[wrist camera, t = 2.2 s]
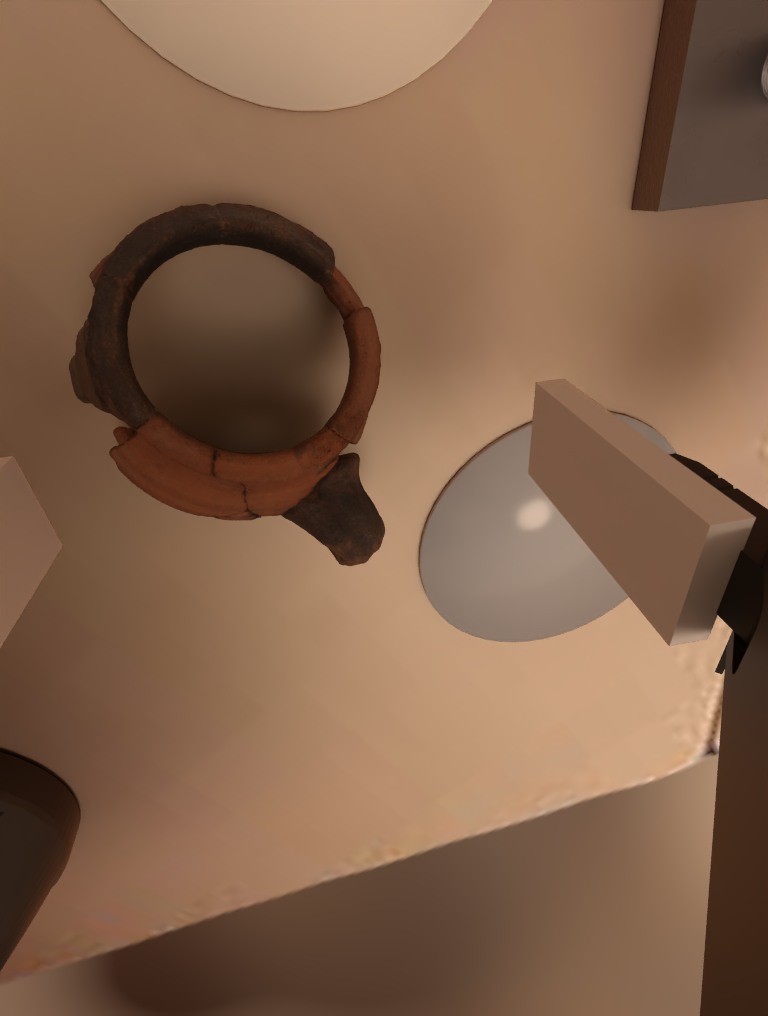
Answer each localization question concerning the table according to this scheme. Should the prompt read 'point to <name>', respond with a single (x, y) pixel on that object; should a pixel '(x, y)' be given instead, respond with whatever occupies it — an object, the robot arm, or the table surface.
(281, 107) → the cream plate
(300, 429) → the table surface
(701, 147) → the balance
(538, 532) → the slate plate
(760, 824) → the robot arm
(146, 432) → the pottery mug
